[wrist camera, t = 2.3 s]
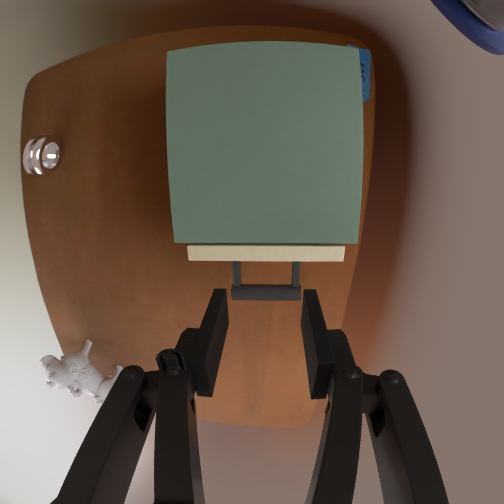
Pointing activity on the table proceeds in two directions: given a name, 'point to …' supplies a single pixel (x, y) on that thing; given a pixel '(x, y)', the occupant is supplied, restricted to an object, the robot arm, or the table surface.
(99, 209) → the table surface
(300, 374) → the table surface
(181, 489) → the robot arm
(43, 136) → the metal grooved wheel
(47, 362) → the dog figurine
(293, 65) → the cabinet
